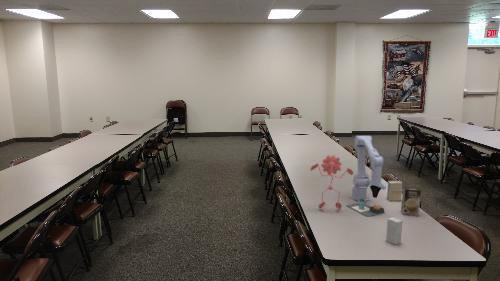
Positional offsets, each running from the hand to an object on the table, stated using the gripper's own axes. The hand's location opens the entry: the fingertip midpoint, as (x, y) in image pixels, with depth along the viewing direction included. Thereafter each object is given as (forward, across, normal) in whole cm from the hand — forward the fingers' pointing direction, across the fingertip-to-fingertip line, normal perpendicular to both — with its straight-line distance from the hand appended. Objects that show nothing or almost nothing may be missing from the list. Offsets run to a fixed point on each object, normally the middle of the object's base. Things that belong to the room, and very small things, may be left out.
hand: (375, 197), depth 227 cm
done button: (+8, +1, +1) cm, 8 cm away
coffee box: (+10, +10, +19) cm, 23 cm away
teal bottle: (+9, -6, -5) cm, 12 cm away
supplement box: (+10, -12, +27) cm, 31 cm away
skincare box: (+10, +36, -19) cm, 42 cm away
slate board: (+10, -5, -3) cm, 11 cm away
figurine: (+10, -16, -22) cm, 29 cm away
